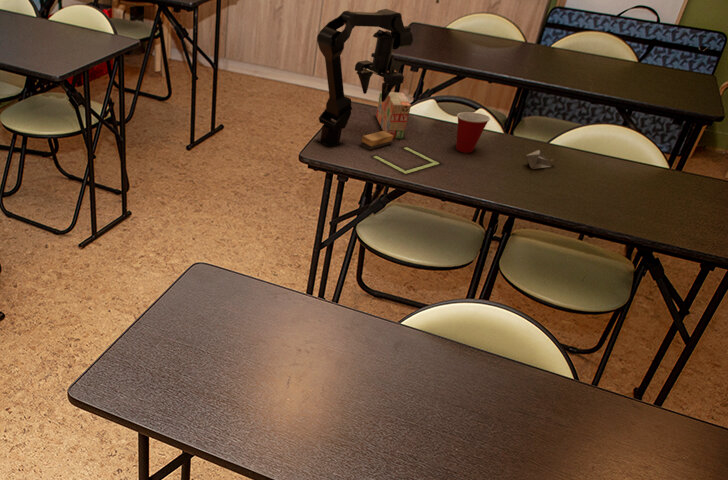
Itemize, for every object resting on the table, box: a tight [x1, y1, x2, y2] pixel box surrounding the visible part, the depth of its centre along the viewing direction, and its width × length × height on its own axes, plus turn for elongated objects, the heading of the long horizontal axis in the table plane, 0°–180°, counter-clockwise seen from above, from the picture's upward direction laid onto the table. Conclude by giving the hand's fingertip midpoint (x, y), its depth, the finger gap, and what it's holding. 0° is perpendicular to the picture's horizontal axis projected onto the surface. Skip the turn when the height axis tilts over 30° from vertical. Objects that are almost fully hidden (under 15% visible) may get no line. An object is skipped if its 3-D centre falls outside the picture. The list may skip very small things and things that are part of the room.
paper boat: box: [525, 149, 556, 170], centre depth 228 cm, size 12×6×9 cm
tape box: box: [373, 146, 440, 175], centre depth 233 cm, size 16×15×1 cm
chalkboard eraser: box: [360, 130, 394, 151], centre depth 241 cm, size 10×5×4 cm, turn 122°
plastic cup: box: [455, 111, 491, 154], centre depth 237 cm, size 11×11×12 cm
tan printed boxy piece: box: [375, 91, 412, 140], centre depth 251 cm, size 21×6×12 cm, turn 179°
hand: (373, 97), depth 243 cm, fingers open, 9 cm apart
